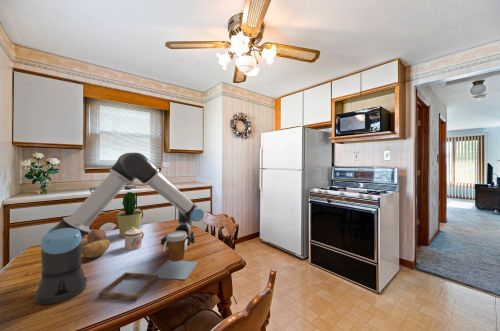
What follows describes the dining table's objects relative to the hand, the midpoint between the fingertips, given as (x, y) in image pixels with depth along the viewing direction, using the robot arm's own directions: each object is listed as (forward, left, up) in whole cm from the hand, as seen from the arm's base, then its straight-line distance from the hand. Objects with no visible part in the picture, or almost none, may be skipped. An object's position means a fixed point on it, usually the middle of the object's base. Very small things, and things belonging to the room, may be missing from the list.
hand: (174, 247), depth 97 cm
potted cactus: (-53, +45, -13) cm, 71 cm away
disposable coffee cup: (-1, +5, -7) cm, 9 cm away
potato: (-49, +12, -13) cm, 52 cm away
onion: (-62, +27, -13) cm, 69 cm away
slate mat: (-1, +4, -12) cm, 13 cm away
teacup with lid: (-37, +27, -13) cm, 48 cm away
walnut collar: (-13, -12, -12) cm, 22 cm away
